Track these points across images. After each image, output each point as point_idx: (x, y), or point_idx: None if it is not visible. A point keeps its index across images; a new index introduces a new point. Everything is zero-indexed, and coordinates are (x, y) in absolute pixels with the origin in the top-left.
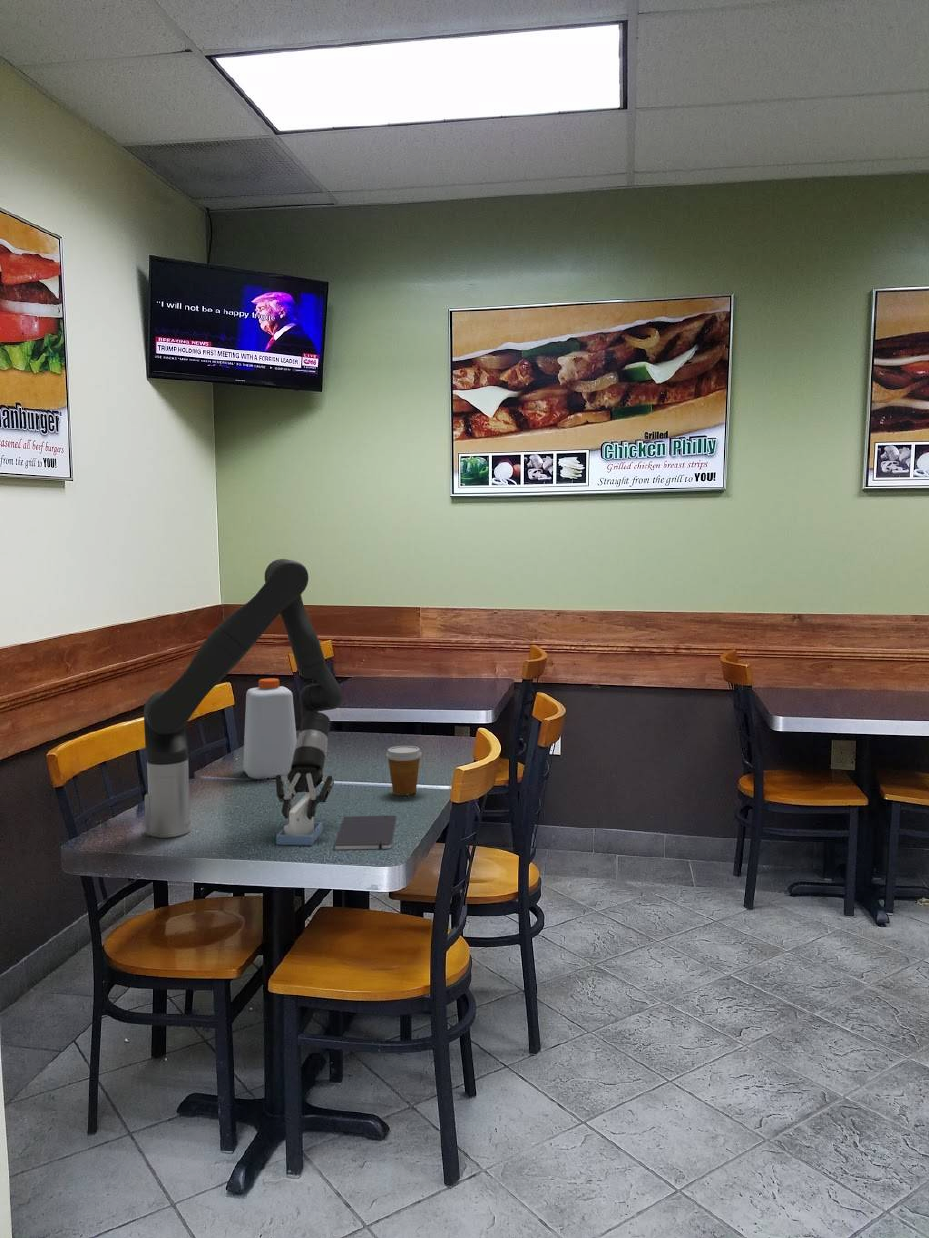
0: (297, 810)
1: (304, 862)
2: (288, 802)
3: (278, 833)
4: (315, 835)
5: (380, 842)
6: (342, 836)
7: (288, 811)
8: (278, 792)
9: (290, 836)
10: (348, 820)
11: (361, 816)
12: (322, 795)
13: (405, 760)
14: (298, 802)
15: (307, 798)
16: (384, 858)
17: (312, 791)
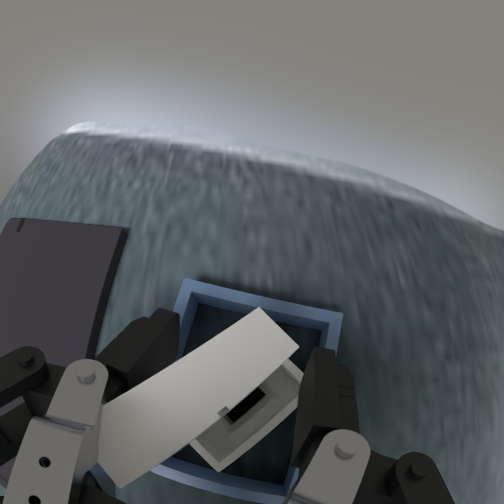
0: (237, 321)
1: (225, 153)
2: (317, 408)
3: (336, 343)
4: None
5: (18, 232)
6: (78, 314)
7: (305, 391)
8: (431, 488)
9: (277, 301)
10: None
11: None
12: (21, 354)
13: None
14: (226, 405)
15: (136, 397)
16: (50, 168)
17: (65, 423)
